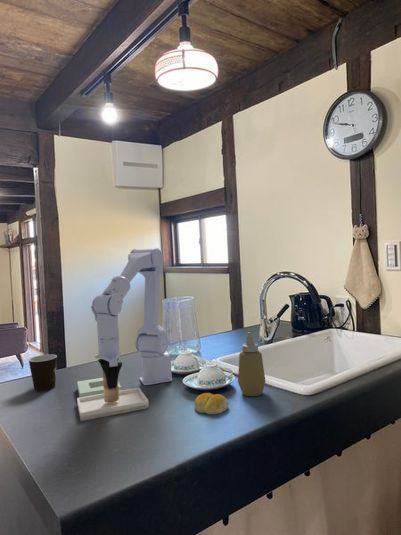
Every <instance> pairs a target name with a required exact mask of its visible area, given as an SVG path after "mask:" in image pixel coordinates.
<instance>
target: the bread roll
mask: <svg viewBox="0 0 401 535" xmlns="http://www.w3.org/2000/svg"><path fill="white" fill-rule="evenodd" d="M229 406H230V405H229V402H228V399H227V397H225V396H224V395H222V394H219V393H216V394H213V393H211V392H204V393H202V394H199V395H198V396H197V397H196V398H195V400H194V409H195V410H196V411H197V412H198V413H202V414H207V415H218V414H222V413H223V412H225V411H226V410H228V408H229Z"/></svg>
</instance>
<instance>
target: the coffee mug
mask: <svg viewBox="0 0 401 535" xmlns="http://www.w3.org/2000/svg"><path fill="white" fill-rule="evenodd" d="M57 361H58V356H57V354H41V355H36V356H32V357H30V358H29V359H28V364H29V368H30V369H29V370H30V374H31V380H32V384H33V389H34V391H35V392H38V393H40V392H42V393H43V392H47V391H51V390H53V389H55V388H56V378H57Z"/></svg>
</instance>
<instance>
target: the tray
mask: <svg viewBox="0 0 401 535" xmlns="http://www.w3.org/2000/svg"><path fill="white" fill-rule="evenodd" d="M76 404H77V409H78V414H79V420H80V422H83V421H87V420H88V421H89V420H93V419H98V418H103V417H108V416H110V417H111V416H114V415H121V414H124V413H129V412H135V411H139V410H140V411H141V410H145V409H150V408H149V407H150V403H149V399H148V398H147V397H146V395H145V393H144V392H143V391H142V390H141V388H140V387H134V388H128V389H121V391H119V400H117V401H115V402H105V401H104V394H98V395H92V396H86V397H77V398H76Z"/></svg>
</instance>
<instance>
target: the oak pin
mask: <svg viewBox="0 0 401 535" xmlns="http://www.w3.org/2000/svg"><path fill="white" fill-rule="evenodd" d="M102 378H103V385H104V401H105V402H115V401H117V400H119V390H118V382H119V381H118V382H117V387H116V388H113V389H109V388H108V385H107V381H106V376H105V373H104V371H103V370H102Z"/></svg>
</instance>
